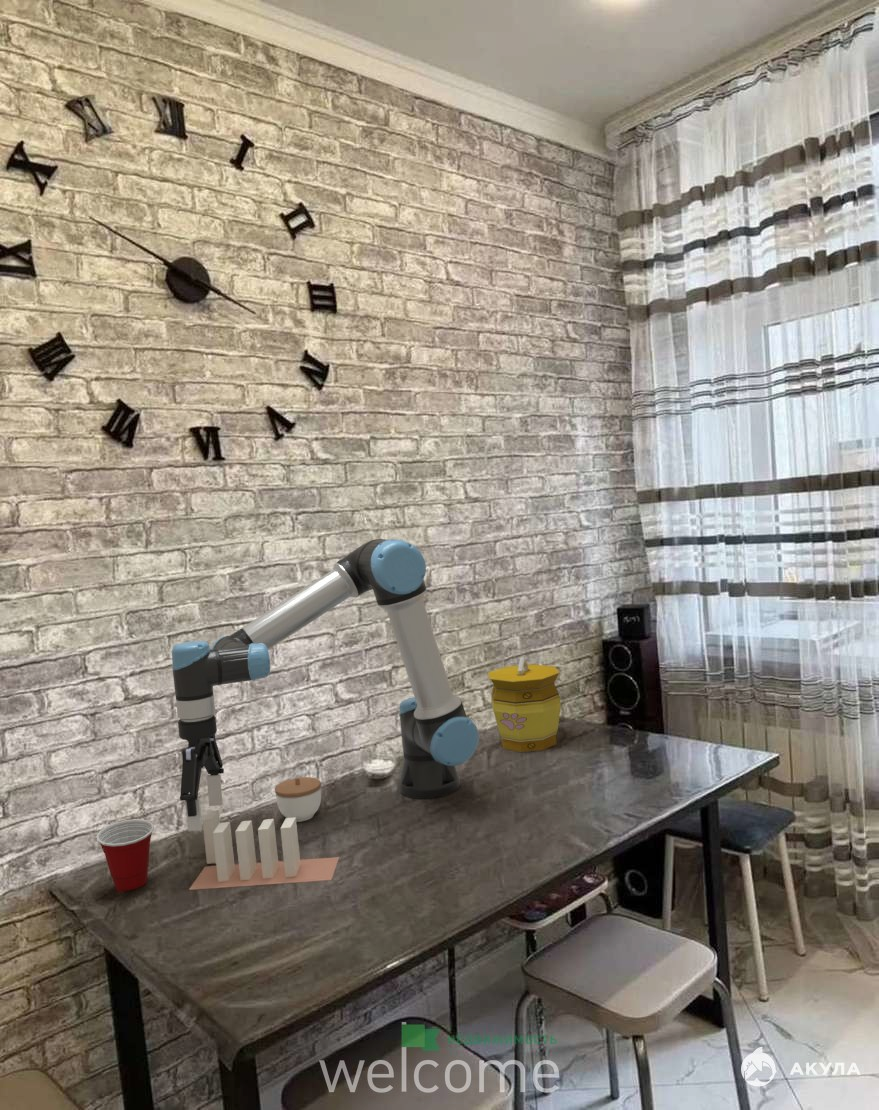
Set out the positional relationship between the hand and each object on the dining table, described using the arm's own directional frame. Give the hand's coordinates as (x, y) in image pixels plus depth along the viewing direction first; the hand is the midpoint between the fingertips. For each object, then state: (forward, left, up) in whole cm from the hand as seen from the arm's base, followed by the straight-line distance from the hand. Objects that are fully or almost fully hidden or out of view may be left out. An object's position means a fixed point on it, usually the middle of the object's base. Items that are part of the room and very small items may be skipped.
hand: (206, 817), depth 173 cm
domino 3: (-10, +7, -10) cm, 15 cm away
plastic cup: (+14, +8, -11) cm, 19 cm away
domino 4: (-14, +7, -10) cm, 19 cm away
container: (-71, -66, -11) cm, 98 cm away
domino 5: (-19, +7, -10) cm, 22 cm away
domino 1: (0, -2, -10) cm, 10 cm away
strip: (-13, +7, -10) cm, 18 cm away
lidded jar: (-14, -23, -11) cm, 29 cm away
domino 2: (-5, +7, -10) cm, 13 cm away
